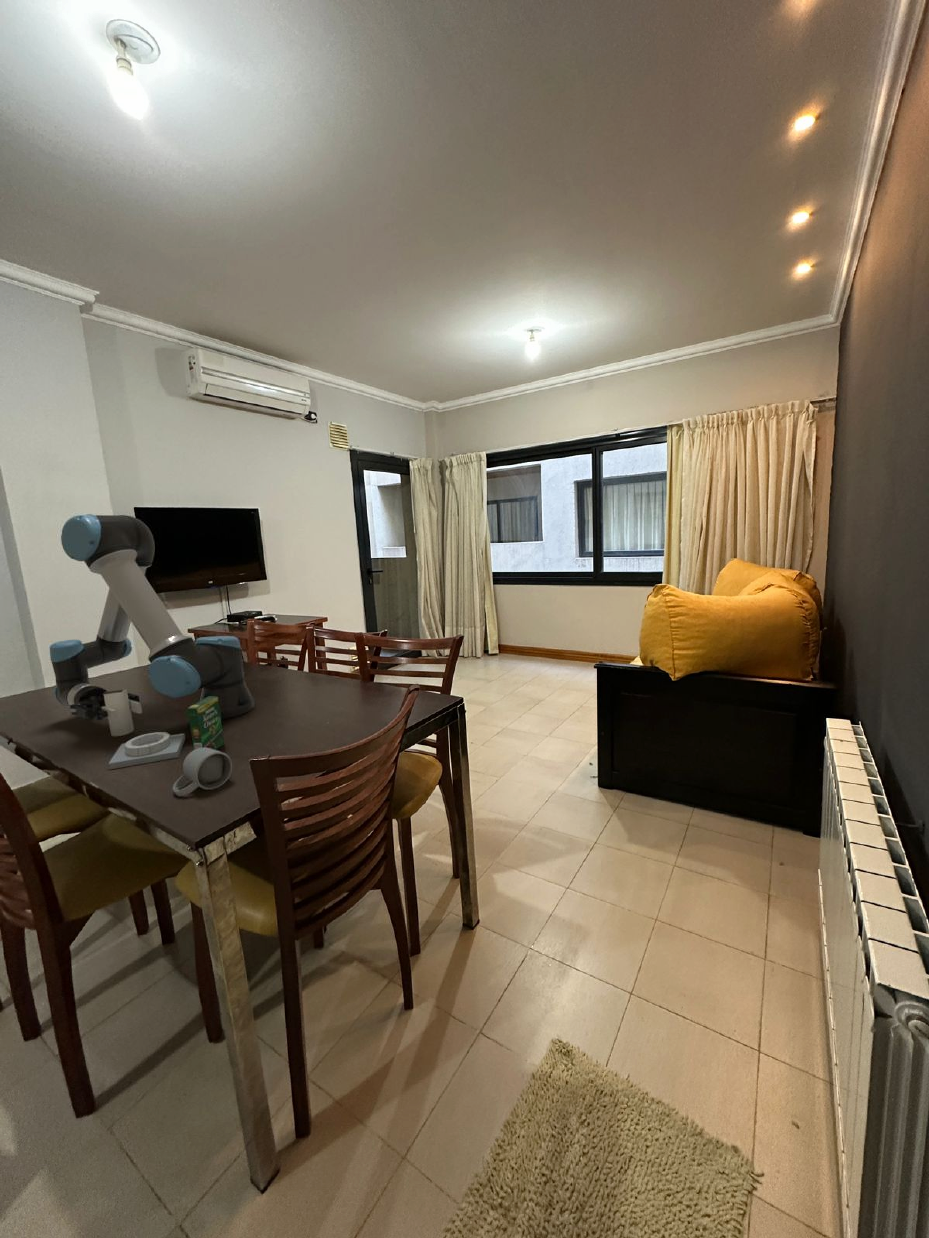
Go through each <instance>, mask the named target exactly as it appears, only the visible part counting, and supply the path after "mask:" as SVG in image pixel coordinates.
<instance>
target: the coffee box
mask: <svg viewBox="0 0 929 1238" xmlns="http://www.w3.org/2000/svg"><path fill="white" fill-rule="evenodd" d="M187 714H188V720H189V726H190V733H191V738H192V740H191V741H192V745H193V750H195V749H198V748H210V749H213V750H217V751H218V750H219V749H220V748H222V747H223V746H224V745H225V739H224V731H223V725H222V719H221V717H220V710H219V703H218V697H215V696H208V697H207V698H205V699H203V700H202V701H200V700H199V702H196V703H194V704H192V705H191V706H189V707H187Z"/></svg>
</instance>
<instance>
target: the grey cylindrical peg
mask: <svg viewBox="0 0 929 1238" xmlns="http://www.w3.org/2000/svg"><path fill="white" fill-rule="evenodd" d="M127 693H128V690H127V688H126V689H123V688H121V689H120V688H119V689H114V690H110V691H108V692H104V700H105V705H106V707H109V708H112V709H114V710H116V712H117V718H118V720H117V721H113V720H110V719H107V720H108V724H109V725H108V726H109V729H110V730H109V731H110V735H111V736H112V737H119V736H121V737H122V736H126V735H128V734H130V733H132V732H134V730H135V727H134V722H133V717H132V711H131V710H130V705H129V699H128V694H127Z"/></svg>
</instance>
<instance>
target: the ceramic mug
mask: <svg viewBox="0 0 929 1238" xmlns="http://www.w3.org/2000/svg"><path fill="white" fill-rule="evenodd" d="M182 771H183V774H182V775H181V776H180V777H179V778H177V780H176V781H175V782H174V783H173V785H172V791H173V793H174V794H175V796H178V797H183V796H186V795H189V794H190V793H192V792H194V791H195V790H196V789H197V788H199V787H200V788H201V789H203V790H206V791H207V790H215V789H218V788H219V787H221V786H223V785H225V783H226V782H227V781H228V779H229V778H230V777H231V774H232V771H233V763H232V759H231V758H230V756H229V755H228V754H227V753H225V752H224V751H223V752H222V751H220V750H218V749H217V750H213V749H210V748H198V749H195V750H194V749H193V750H191V751H190V752H189V753H188V754H186V757H185V758H184V760H183V763H182ZM188 780H189V781H191V783H190V784H189V785H187V786H186V787H184V788H181V789H180V787H181V786H182V785H183V784H184V783H186V781H188Z"/></svg>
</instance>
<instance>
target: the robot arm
mask: <svg viewBox="0 0 929 1238" xmlns="http://www.w3.org/2000/svg"><path fill="white" fill-rule="evenodd" d="M154 539H155V538H154V536H153V534H152V532H151V530H150V528H149V527H148V526H147V525H146V523H144V522H143V521H142V520H141V519H138V518H136V517H135V516H132V515H125V514H123V515H122V514H118V515H115V514H114V515H113V514H112V515H110V514H109V515H108V514H107V515H105V514H104V515H103V514H102V515H101V514H100V515H99V514H95V515H94V514H92V513H87V514H79V515H73V516H72V517H70V518H69V519H67V521H66V522H65V523H64V525H63V526H62V529H61V535H60V541H61V542H60V543H61V546H62V549H63V552H64V553H65V554H66V555H67V557H69V558H70V559H72V560H74V561H76V562H77V561H78V562H84V564H85V565H86V566H87V568H88V570H89V571H90V572H91V573H94V574H98V575H101V577H102V578H103V580H104V582H105V583H106V585H107V586H108V593H107V597H106V600H105V604H104V607H103V612H102V615H101V619H100V624H99V628H98V631H97V633H96V638H95V640H92V641H89V642H86V643H83V642H82V640H81V639H67V640H66V639H65V640H61V641H56V642H53V643H52V644H51V645H50V646H49V656H50V657H49V658H50V659H49V660H50V661H51V662H50V663H51V664H52V669H53V673H54V677H55V687H54V688H53V697H54V699H55V700H56V701H57V702H58V703H59V704H61V705H63V706H64V707H69V709H70V714H71V715H72V716H79V717H81V718H83V719H85V720H92V719H94V717H96V721H103V719H107V720H108V719H110V720H113V721H117V720H118V718H117V712H116V710H114V709H112V708H109V707H106V705H105V700H104V692H109V691H108V690H107V689H105V688H103V687H102V686H101V687H100V686H97V685H95V684H91V683H90V678H89V670H88V669H91V668H94V667H98V666H101V665H105V664H109V663H111V662H116V661H119V660H121V659H124V658H126V657H128V656H129V655H130V654H131V653H132V650H133V647H132V641H131V639H129V638H128V634H129V630H130V627H131V624H132V625H133V626H134V628H135V629H136V631H137V632H138V634H139V636H140V637H141V639H142V641H144V643H145V645H146V646H147V649H149V655H148V657H147V660H148V661H149V663H150V664H149V666H148V668H147V673H149V674H148V680H149V682H150V684H151V685H152V687H153V688H154V689H155V690H156V691H157V692H158V693H160V694H162V695H163V696H165V697H171V698H181V697H185V696H188V695H192V694H194V693H196V692H197V691H199V690H200V689H201V690H202V691H201V695H200V699H199V702H200V701H202V700H203V699H205V698H207V697H208V696H215V697H218V703H219V710H220V717H221V720H223V719H224V720H225V719H230V718H234V717H237V716H241V715H244V714H246V713H248V712H250V711H251V710H253V709H254V707H255V704H254V698H253V696H252V695H251V692H250V690H249V688H248V686H247V684H246V682H245V681H246V680H245V673H244V665H243V657H242V656H243V655H242V647H241V644H240V640H239V638H238V637H237V636H232V635H231V636H230V635H216V636H212V635H211V636H204V637H198V638H196V640H194V639H193V638H192V636H190V635H184V634H183V633H182V631H181V630H180V628H179V626H178V625H177V624H176V622H175V621H174V619H173V617H172V616H171V614H170V613H169V611H168V610H167V608H166V607H165V605H164V603H163V601H161V599H160V597H159V596H158V594H157V593H156V591H155V590H154V588H153V587H152V585H151V584H150V582H149V581H148V579H147V577H146V575H145V574H146V571H147V568H149V567H151V566H152V564H153V561H154V557H155V551H156V550H155V549H156V547H155V540H154ZM127 694H128V699H129V705H130V710H131V712H133V713H136V714H142V713H143V710H142V704H141V701H140V696H139V695H136V694H133V693H129V692H127Z"/></svg>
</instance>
